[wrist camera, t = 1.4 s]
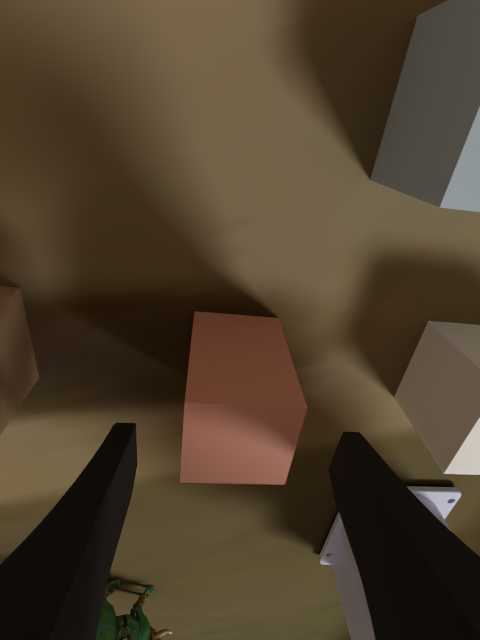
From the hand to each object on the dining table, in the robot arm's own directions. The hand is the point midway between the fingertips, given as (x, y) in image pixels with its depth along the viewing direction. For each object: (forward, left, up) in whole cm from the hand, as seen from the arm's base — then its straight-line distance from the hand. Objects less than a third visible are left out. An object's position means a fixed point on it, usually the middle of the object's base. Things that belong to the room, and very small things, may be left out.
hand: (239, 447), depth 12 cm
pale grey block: (0, -12, -6) cm, 13 cm away
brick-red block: (0, 0, -6) cm, 6 cm away
